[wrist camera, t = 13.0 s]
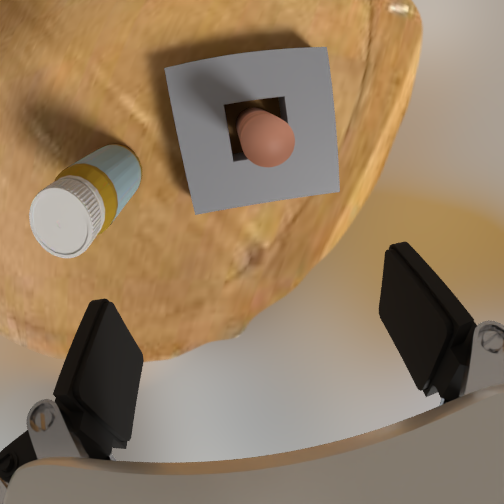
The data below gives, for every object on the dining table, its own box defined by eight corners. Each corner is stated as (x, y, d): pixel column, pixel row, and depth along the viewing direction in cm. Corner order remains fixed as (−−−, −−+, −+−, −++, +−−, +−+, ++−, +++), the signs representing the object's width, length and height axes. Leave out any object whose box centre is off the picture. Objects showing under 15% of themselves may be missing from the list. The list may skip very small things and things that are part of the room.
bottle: (89, 144, 31) (18, 184, 18) (143, 142, 32) (91, 180, 19) (93, 198, 34) (35, 261, 21) (144, 198, 35) (103, 265, 22)
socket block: (171, 70, 28) (164, 68, 24) (315, 51, 28) (326, 47, 24) (198, 201, 36) (195, 214, 32) (328, 181, 36) (339, 191, 32)
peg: (233, 110, 31) (237, 119, 20) (269, 105, 31) (291, 112, 20) (238, 144, 33) (245, 171, 22) (274, 139, 33) (297, 163, 22)
